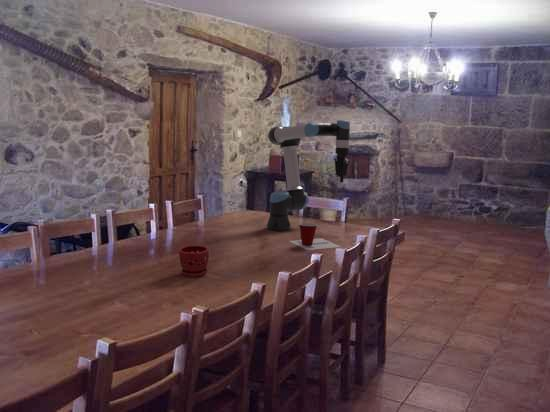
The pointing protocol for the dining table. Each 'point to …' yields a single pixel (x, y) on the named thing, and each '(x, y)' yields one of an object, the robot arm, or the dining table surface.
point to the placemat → (316, 244)
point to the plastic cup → (307, 233)
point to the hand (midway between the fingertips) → (340, 187)
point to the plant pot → (194, 260)
